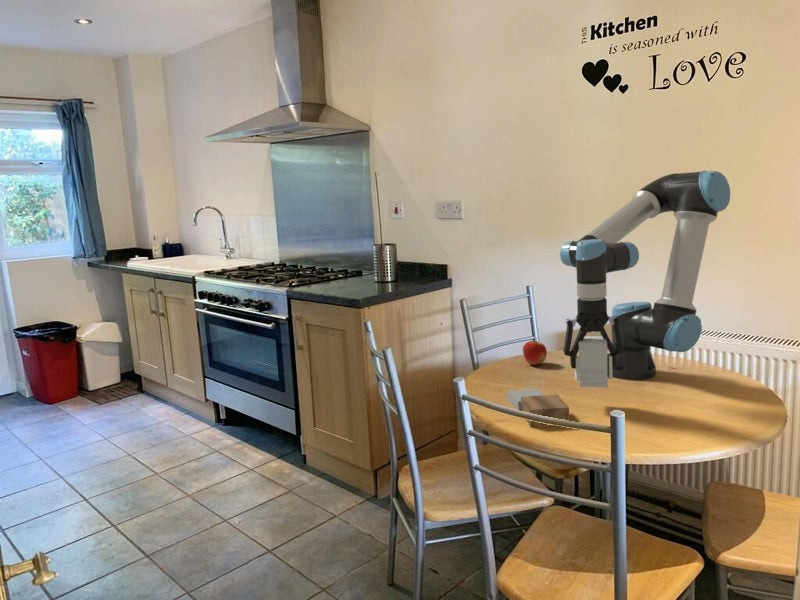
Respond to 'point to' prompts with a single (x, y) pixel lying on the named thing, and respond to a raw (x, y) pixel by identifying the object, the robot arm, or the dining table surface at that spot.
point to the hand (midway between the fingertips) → (593, 378)
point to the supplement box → (593, 362)
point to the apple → (534, 352)
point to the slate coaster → (516, 395)
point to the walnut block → (545, 407)
